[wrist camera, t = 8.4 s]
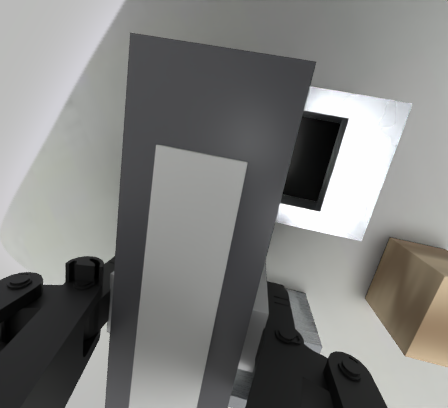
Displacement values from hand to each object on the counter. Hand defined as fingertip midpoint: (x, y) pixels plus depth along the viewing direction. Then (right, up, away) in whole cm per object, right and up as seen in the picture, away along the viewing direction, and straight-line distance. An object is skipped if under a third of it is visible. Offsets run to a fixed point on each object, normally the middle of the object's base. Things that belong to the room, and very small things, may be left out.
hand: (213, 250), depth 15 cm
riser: (+13, -2, +2) cm, 14 cm away
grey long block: (0, 0, +1) cm, 1 cm away
